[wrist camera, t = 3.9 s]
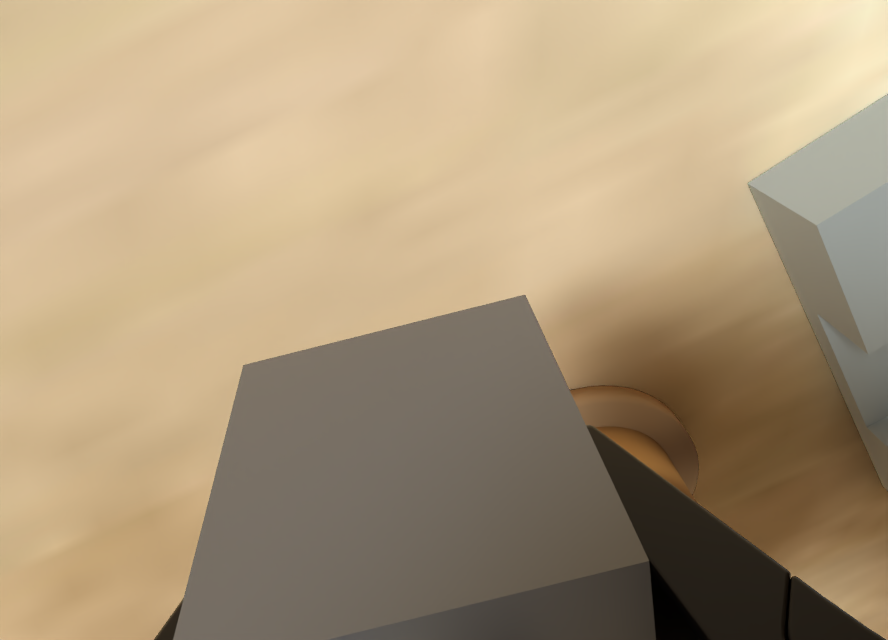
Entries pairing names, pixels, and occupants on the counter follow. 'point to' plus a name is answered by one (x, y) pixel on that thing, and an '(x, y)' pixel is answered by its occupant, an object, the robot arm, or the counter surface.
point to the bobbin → (642, 431)
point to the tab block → (416, 497)
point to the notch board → (841, 258)
